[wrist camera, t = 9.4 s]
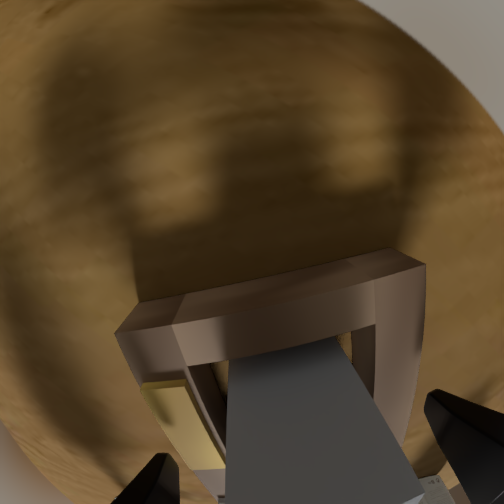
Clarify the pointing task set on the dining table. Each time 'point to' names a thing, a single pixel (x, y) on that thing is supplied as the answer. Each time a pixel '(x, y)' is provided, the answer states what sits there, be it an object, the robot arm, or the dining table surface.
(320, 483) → the plug
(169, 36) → the dining table surface
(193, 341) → the brown wooden flat frame
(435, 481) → the skincare box
